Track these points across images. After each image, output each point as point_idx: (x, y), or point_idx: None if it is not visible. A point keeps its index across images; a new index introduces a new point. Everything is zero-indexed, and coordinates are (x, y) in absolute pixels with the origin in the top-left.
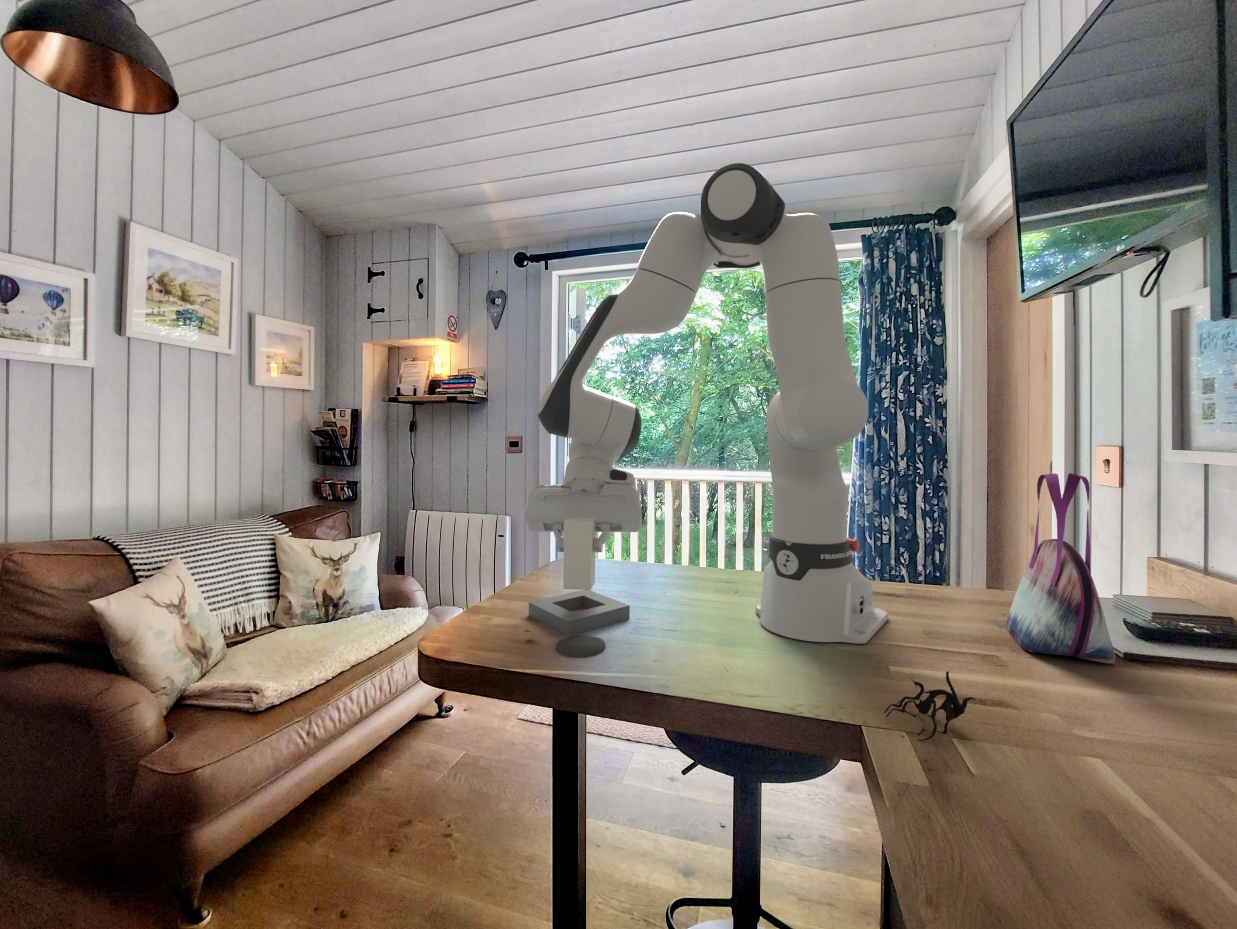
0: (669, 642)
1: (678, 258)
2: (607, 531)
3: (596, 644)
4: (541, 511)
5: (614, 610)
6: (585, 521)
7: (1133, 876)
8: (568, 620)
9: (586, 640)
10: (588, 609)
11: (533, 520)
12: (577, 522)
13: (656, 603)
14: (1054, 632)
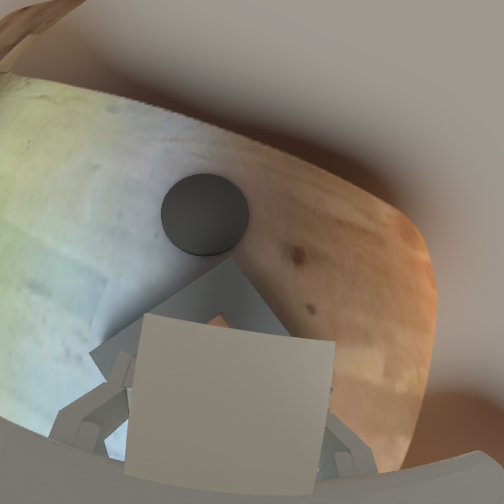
0: (54, 231)
1: None
2: (71, 404)
3: (176, 209)
4: (462, 501)
5: (125, 328)
6: (186, 336)
7: (18, 15)
8: (231, 262)
9: (193, 228)
10: None
11: (464, 454)
12: (242, 331)
13: None
14: None
